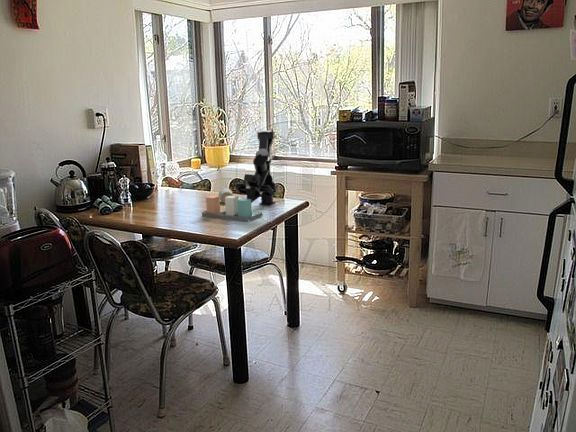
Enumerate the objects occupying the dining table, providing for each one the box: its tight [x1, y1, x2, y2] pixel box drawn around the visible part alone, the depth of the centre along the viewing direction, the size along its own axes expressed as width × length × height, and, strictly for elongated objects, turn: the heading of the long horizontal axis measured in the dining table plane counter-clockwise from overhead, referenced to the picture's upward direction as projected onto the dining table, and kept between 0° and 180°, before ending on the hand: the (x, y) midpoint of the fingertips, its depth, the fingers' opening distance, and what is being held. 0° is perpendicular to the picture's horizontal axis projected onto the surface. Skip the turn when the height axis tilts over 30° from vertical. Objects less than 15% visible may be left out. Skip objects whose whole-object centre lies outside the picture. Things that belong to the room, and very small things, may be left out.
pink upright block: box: [205, 195, 221, 214], centre depth 240 cm, size 4×5×9 cm
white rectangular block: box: [224, 195, 240, 216], centre depth 238 cm, size 4×5×9 cm
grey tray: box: [201, 209, 264, 223], centre depth 239 cm, size 14×30×3 cm, turn 59°
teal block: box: [237, 197, 253, 220], centre depth 232 cm, size 4×5×9 cm
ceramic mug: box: [218, 187, 234, 204], centre depth 268 cm, size 11×8×8 cm
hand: (247, 204), depth 233 cm, fingers closed, pressing on teal block
